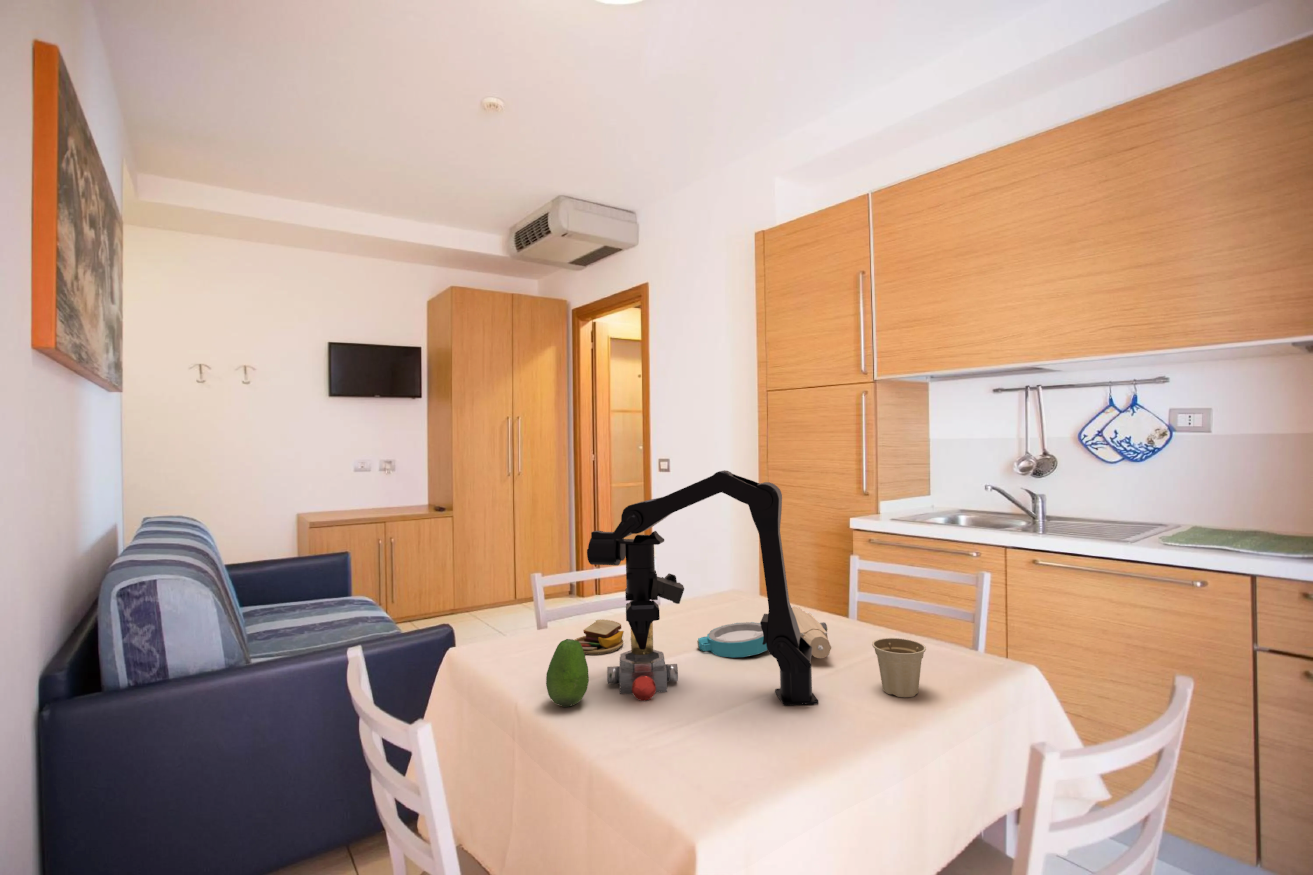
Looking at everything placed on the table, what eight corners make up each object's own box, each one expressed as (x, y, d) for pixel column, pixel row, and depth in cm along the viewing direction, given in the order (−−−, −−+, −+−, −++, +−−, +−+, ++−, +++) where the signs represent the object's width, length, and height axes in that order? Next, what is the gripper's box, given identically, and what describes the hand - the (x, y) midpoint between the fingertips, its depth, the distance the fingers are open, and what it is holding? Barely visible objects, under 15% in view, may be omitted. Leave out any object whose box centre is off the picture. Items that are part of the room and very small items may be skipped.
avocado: (593, 709, 111) (591, 642, 111) (549, 716, 109) (547, 647, 109) (585, 693, 118) (584, 630, 119) (544, 698, 116) (542, 634, 116)
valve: (681, 698, 115) (680, 669, 115) (606, 702, 114) (606, 672, 114) (675, 673, 127) (674, 647, 127) (608, 676, 126) (607, 649, 126)
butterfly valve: (702, 683, 129) (845, 665, 128) (698, 650, 129) (841, 632, 129) (697, 642, 156) (815, 627, 155) (693, 615, 156) (812, 600, 155)
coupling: (654, 654, 120) (653, 625, 120) (631, 655, 120) (630, 626, 120) (652, 646, 125) (652, 619, 125) (631, 647, 124) (630, 620, 124)
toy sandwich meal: (559, 649, 145) (558, 629, 145) (599, 635, 156) (598, 616, 156) (597, 660, 137) (597, 638, 137) (637, 644, 148) (636, 624, 148)
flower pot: (862, 686, 118) (861, 641, 119) (900, 678, 122) (898, 634, 122) (899, 705, 110) (898, 656, 110) (938, 695, 113) (937, 648, 114)
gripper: (685, 574, 114) (687, 659, 113) (676, 556, 132) (678, 629, 132) (625, 576, 113) (627, 662, 113) (624, 558, 132) (626, 631, 132)
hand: (642, 645), depth 122 cm, fingers closed on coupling, 4 cm apart
